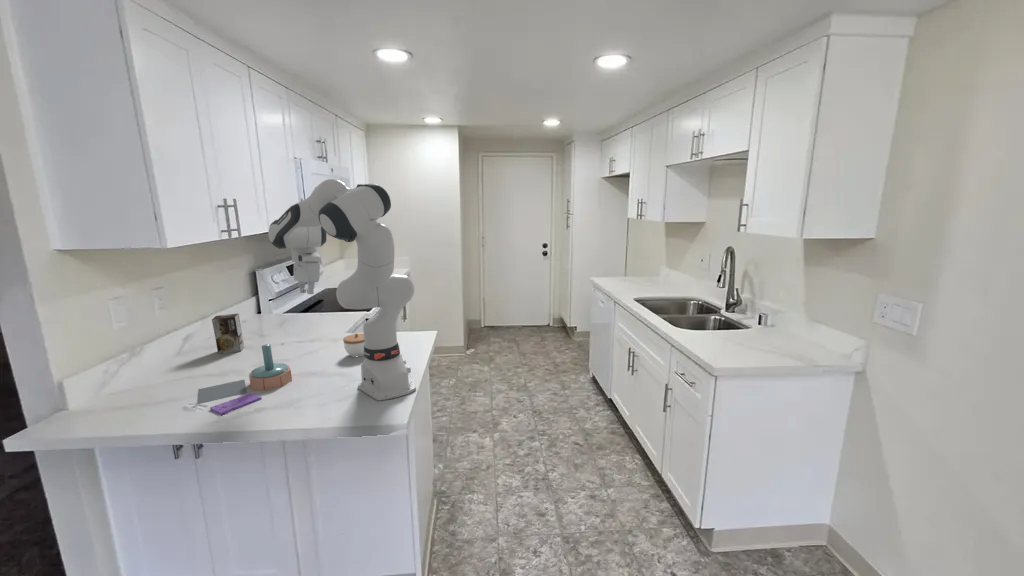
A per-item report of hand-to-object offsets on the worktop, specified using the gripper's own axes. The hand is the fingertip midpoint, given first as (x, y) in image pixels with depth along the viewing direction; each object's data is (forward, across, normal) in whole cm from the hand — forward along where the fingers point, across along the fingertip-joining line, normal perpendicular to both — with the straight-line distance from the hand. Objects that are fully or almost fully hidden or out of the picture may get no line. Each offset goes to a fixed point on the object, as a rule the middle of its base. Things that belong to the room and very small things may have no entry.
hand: (306, 293), depth 165 cm
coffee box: (+27, -52, -18) cm, 62 cm away
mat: (+33, -4, -28) cm, 44 cm away
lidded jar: (+28, -6, +21) cm, 36 cm away
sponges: (+35, +12, -26) cm, 45 cm away
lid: (+28, +1, -14) cm, 31 cm away
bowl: (+32, 0, -14) cm, 35 cm away
